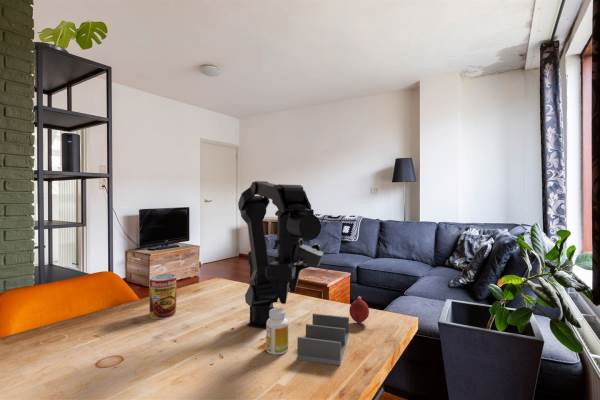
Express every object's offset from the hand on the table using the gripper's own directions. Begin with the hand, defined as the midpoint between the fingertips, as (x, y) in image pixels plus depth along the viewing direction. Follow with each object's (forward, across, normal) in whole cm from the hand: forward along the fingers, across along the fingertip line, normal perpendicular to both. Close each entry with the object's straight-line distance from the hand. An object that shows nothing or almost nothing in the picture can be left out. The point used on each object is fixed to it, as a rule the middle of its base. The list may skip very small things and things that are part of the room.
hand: (288, 297), depth 78 cm
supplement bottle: (+13, -2, +2) cm, 13 cm away
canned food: (+13, +12, +45) cm, 48 cm away
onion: (+13, +19, -17) cm, 29 cm away
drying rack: (+13, +3, -9) cm, 16 cm away
